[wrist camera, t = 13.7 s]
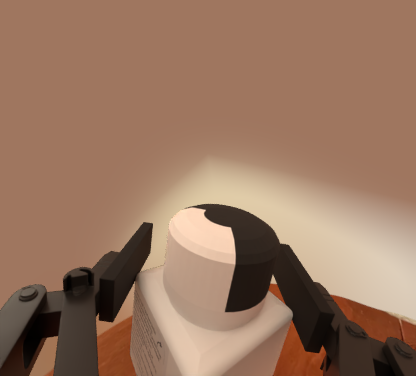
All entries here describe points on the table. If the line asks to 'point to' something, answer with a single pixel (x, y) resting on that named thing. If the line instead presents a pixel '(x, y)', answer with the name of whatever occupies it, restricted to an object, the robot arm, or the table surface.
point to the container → (210, 299)
